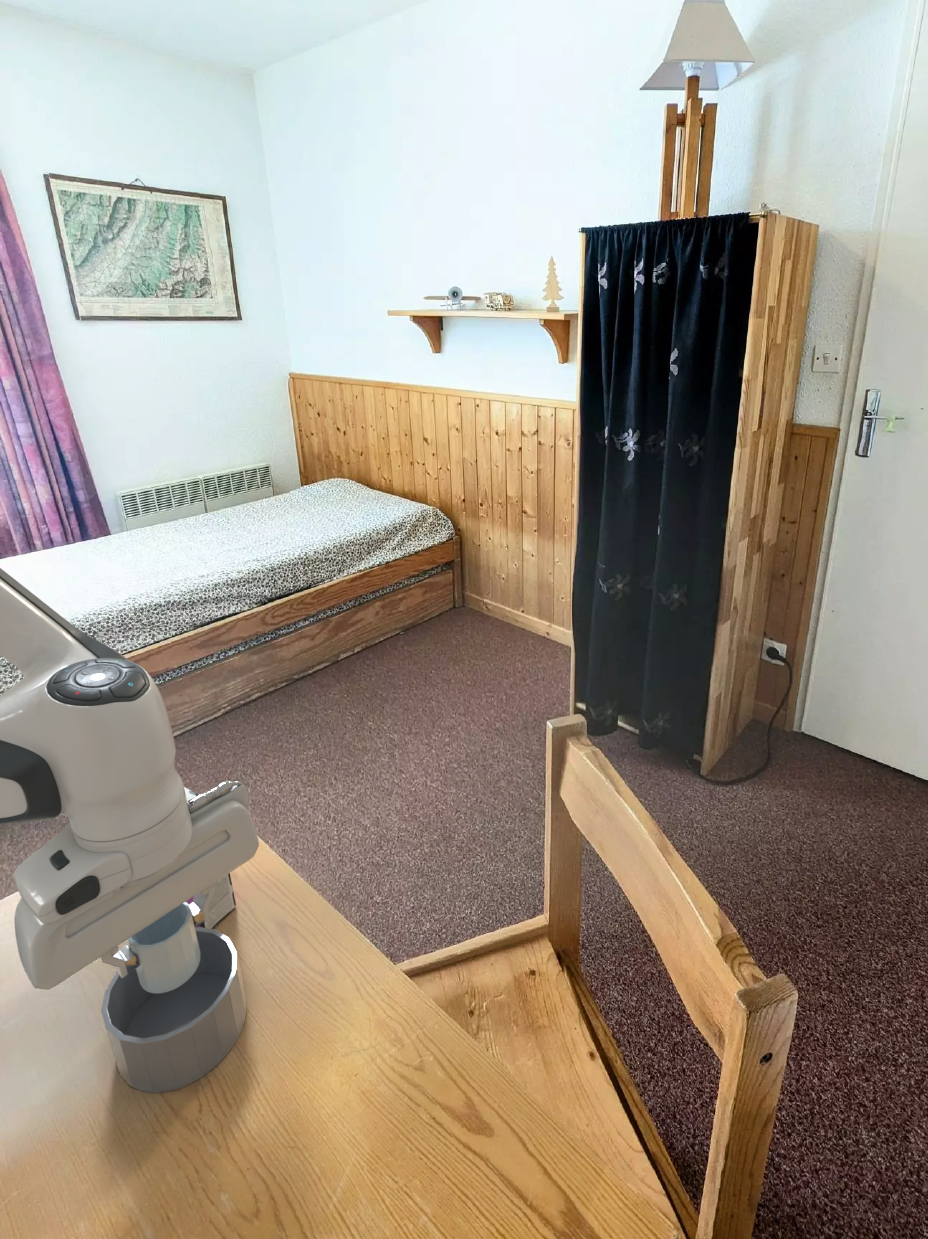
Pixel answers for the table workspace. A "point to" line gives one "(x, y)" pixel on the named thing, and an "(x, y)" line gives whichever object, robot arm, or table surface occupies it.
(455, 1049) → the table surface
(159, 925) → the light blue cup
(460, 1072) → the table surface
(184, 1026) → the gray bowl
